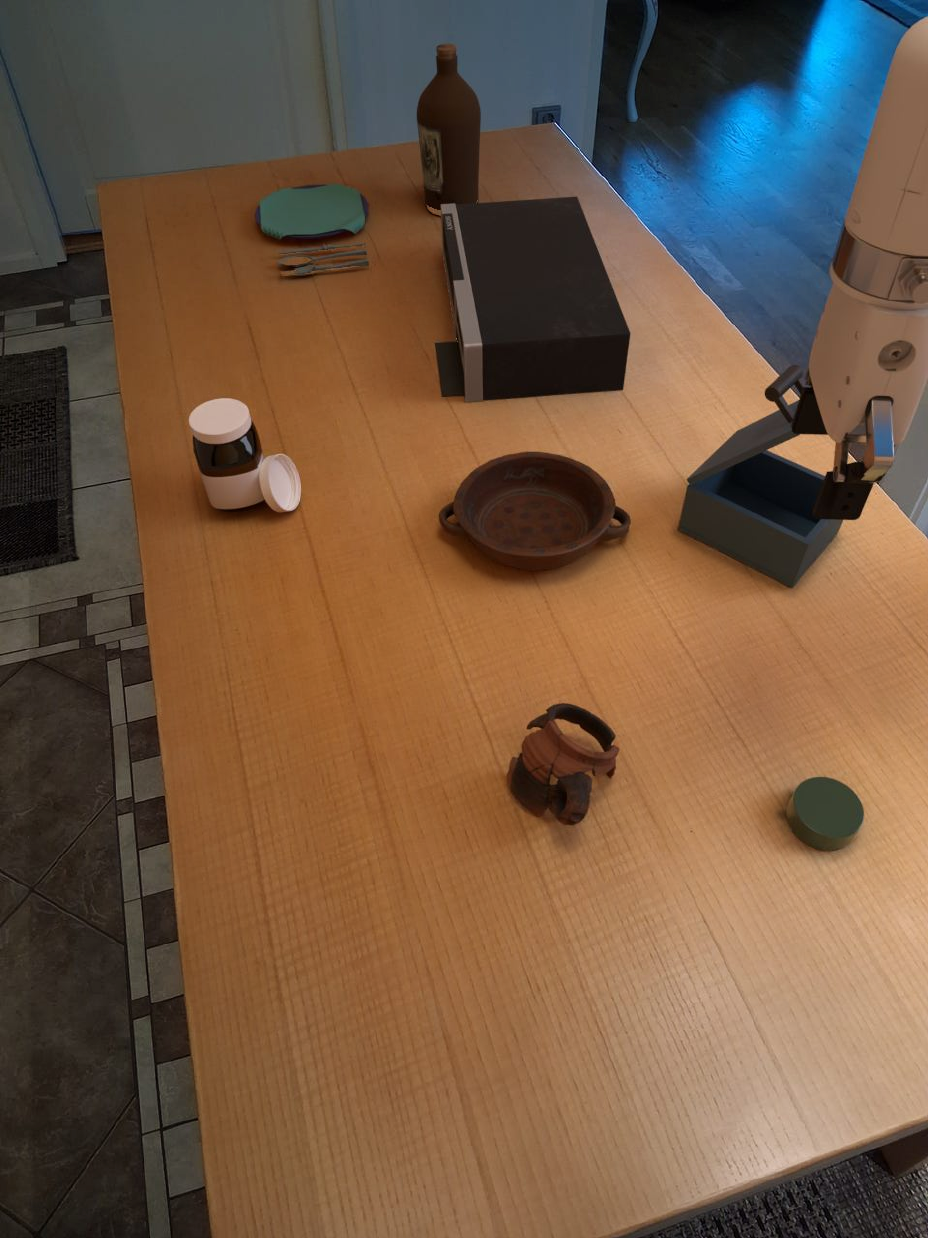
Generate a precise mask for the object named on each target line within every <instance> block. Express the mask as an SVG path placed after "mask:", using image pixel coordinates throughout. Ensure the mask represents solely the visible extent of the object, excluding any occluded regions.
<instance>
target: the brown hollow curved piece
mask: <svg viewBox="0 0 928 1238" xmlns="http://www.w3.org/2000/svg"><path fill="white" fill-rule="evenodd" d="M545 711H546V713H543V714H540V715H538V716H536V717H535V718H534V719H532V720H530V721H529V722H528V724H527V726H526V730H528V731H530V730H532V729H534V728H538V730H536V731H534V732H531V733H529V734H527V735H526V736H524V739H523V741H522V743H521V752H520V753H519V755H518V756H512V757H511V758H510V761H509V766H508V770H507V774H506V781H507V785H508V788H509V790H510V792H511V793H512V796H513V797H514V799H515V800H516V801H517V802H518V804H520V805H521V806H522V807H523V808H524V809H525V810H527V811H528V812H530V813H531V814H534V815H536V816H537V817H540V818H542V817H543V815H544V814H545V812H546V811H547V809H548V811H549V813H551V814H552V815H553V816H554V817H555V819H556V820H557V822H559V823H560V824H561V825H562V826H570V827H571V826H576V825H577V824H580V823H581V822H582V821H583V820H584V818H585V817H586V816H587V813H588V811H589V809H590V803H591V802H590V799H591V795H590V794H591V793H592V791H593V786H592V785H593V779H592V777H591V776H590V775H589V774H587V772H590V771H591V774H592V776H593V777H595V778H597V777H599V776H602V775H606V776H607V778H608V779H612V778H613V777H614V775H615V771H616V769H617V760H616V757H618V756H619V752H620V747H619V746H617V745H616V744H613V742H614V741H615V739H616V737H617V736H616V734H615V732H614V730H613V729H612V728H611V727H610V726H609V725H608V724H607V722H605V721H604V720H603V719H602V718H601V717H600V716H599V717H598V716H597V714H594V713H592V712H591V711H589V710H587V709H585V708H583V707H581V706H578V705H576V704H572V703H567V702H566V703H565V702H559V703H555V704H553V705H551V706H550V707H548V708H546V709H545ZM556 720H563V721H566V722H568V723H571V724H573V725H577V726H579V728H580V729H581V730H583V731H584V732H586V733H587V734H589V735H590V736H592V737H593V738H594V739H595V740H596V741H597V742H598V744H599V745H600V747H601V749H602V751H592V750H590V749H588V748H586V747H583V746H582V745H579V744H578V743H576V742H575V741H573V740H572V739H570V738H569V737H568V736H567V735H566V734H564V733H563V731H562V730H561V729H560V727H559V725H558V723H557V721H556ZM552 776H553V777H554V778H555V779H557V780H556V784H551V777H552Z"/></svg>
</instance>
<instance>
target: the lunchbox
mask: <svg viewBox="0 0 928 1238" xmlns="http://www.w3.org/2000/svg"><path fill="white" fill-rule="evenodd" d="M825 476H826V475H824V474H822V473H820V472H817V471H815V470H813V469H810V468H808V467H806V466H803V465H802V464H799V463H797V462H795V461H793V460H790V459H788V458H785V457H783V456H781V455H779V454H777V453H774V452H772V451H770V450H769V449H768V450H766V451H764V452H762V453H759V454H757V455H755V456H753V457H751V458H748V459H746V460H744V461H742V462H740V463H738V464H735V465H733V466H731V467H729V468H727V469H724V470H722V471H720V472H718V473H716V474H714V475H711V476H709V477H707V478H705V479H703V480H700V481H698V482H696V483H694V484H692V485H689V484H687V485H686V489H685V495H684V498H683V504H682V508H681V513H680V517H679V521H678V526H677V530H678V531H679V532H681V533H683V534H685V535H686V536H689V537H691V538H693V539H694V540H697V541H699V542H700V543H702V544H705V545H706V546H709V547H710V548H712V549H714V550H716V551H718V552H720V553H722V554H724V555H726V556H727V557H729V558H731V559H734V560H736V561H738V562H740V563H742V564H743V565H745V566H748V567H749V568H752V569H754V570H755V571H758V572H759V573H761V574H763V575H765V576H767V577H768V578H772V580H775V581H777V582H779V583H781V584H783V585H785V586H787V587H788V588H790V589H793V588H794V587H795V585H796V584H797V583H798V582H799V581H800V579H801V578H802V577H803V576H804V574H806V573H807V571H808V570H809V569H810V568H811V567H812V565H813V564H814V563H815V562H816V560H818V558H819V557H820V556H821V554H822V553H823V552H824V551H825V550H826V548H828V546H829V545H830V544H831V542H833V540H834V539H835V538H836V537H837V535H838V534H839V531H840V529H841V527H842V524H843V522H844V520H832V519H816V518H815V517H814V514H813V509H814V506H815V503H816V500H817V498H818V495H819V492H820V489H821V487H822V484H823V481H824V478H825Z"/></svg>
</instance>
